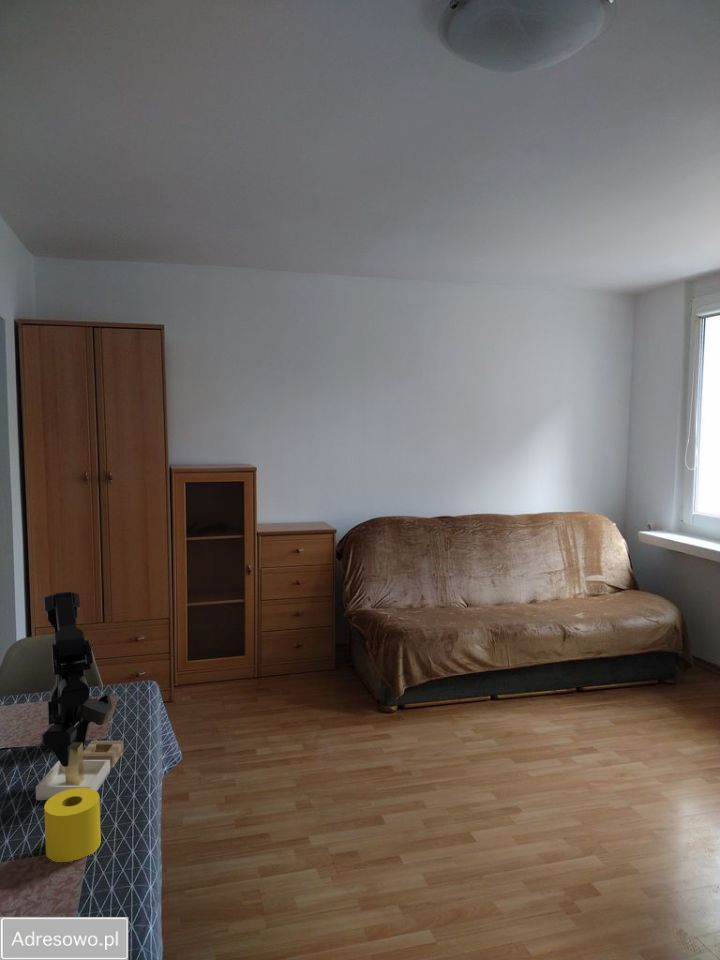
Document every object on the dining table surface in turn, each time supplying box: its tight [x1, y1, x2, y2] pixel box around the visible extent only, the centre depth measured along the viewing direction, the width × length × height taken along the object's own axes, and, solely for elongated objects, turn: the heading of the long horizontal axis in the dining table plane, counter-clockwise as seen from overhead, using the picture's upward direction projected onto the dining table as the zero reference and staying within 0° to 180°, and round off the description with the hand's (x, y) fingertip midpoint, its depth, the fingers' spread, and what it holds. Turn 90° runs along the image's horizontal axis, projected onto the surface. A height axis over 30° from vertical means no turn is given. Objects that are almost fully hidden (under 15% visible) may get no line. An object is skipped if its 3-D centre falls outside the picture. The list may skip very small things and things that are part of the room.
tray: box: [35, 760, 111, 801], centre depth 157 cm, size 12×12×3 cm
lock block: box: [83, 740, 124, 769], centre depth 169 cm, size 8×8×3 cm
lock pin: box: [65, 742, 84, 786], centre depth 157 cm, size 3×3×9 cm
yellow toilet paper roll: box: [44, 788, 102, 862], centre depth 134 cm, size 10×10×9 cm
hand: (73, 756), depth 157 cm, fingers open, 9 cm apart
